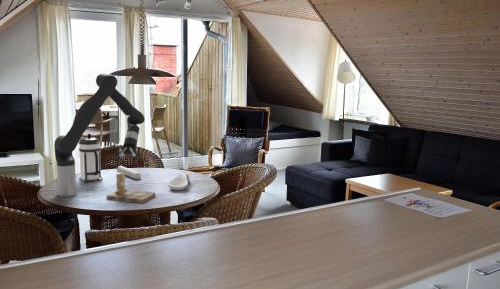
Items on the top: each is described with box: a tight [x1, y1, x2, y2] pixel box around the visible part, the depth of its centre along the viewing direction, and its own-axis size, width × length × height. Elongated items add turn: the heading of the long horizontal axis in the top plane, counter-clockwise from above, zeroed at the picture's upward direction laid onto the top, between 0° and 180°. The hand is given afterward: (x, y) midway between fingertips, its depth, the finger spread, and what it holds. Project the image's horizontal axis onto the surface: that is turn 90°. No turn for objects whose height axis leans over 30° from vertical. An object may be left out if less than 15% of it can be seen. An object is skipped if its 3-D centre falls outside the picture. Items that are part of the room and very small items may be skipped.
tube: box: [116, 165, 142, 180], centre depth 277 cm, size 5×5×25 cm
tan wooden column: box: [114, 172, 128, 194], centre depth 232 cm, size 5×5×11 cm
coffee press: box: [78, 133, 104, 184], centre depth 261 cm, size 17×16×30 cm
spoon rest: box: [167, 172, 191, 191], centre depth 255 cm, size 24×12×7 cm, turn 172°
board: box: [106, 189, 156, 204], centre depth 230 cm, size 22×14×2 cm, turn 75°
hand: (126, 162), depth 241 cm, fingers open, 8 cm apart
